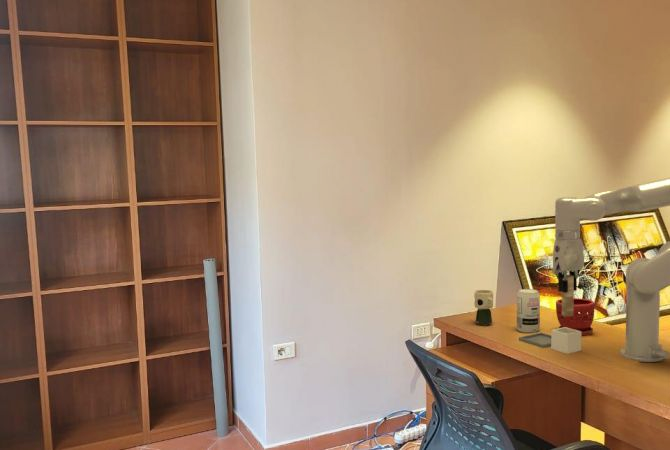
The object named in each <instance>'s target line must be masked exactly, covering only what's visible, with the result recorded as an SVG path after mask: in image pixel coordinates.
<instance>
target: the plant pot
mask: <svg viewBox="0 0 670 450" xmlns="http://www.w3.org/2000/svg"><path fill="white" fill-rule="evenodd" d="M555 310H556V311H555V312H556V317H557V320H558V323H559V325H560V326H559V327H558V329H559V328H563V327H567V328H571V329H574V330H578V331H581V337H582V336H589V335H590V334H592V333H593V332H594V329H593V327H591V326H592V324H593V322H594V318H595V302H594V301H593V300H591V299H587V298H577V297H575V298H574V307H573V316H563V315H562V298H561V299H557V300H556V301H555Z"/></svg>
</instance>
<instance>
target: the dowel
mask: <svg viewBox="0 0 670 450" xmlns="http://www.w3.org/2000/svg"><path fill="white" fill-rule="evenodd" d="M566 280H568V292H566V293H565V292H561V299H562V315H563V316H573V307H574V292H575V291H574V276H573V275H569V274H567V277H566Z"/></svg>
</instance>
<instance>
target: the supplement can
mask: <svg viewBox="0 0 670 450" xmlns="http://www.w3.org/2000/svg"><path fill="white" fill-rule="evenodd" d="M540 300H541V296H540V293H539V291H538V290H537V289H533V288H522V289H518V292H517V293H516V329H517V330H518V332H520V333H526V334H535V333H539V331H540V330H541V328H540V326H541V324H540V322H541V321H540V320H541V316H540V313H541V312H540V311H541V301H540ZM534 332H535V333H534Z"/></svg>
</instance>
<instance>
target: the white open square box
mask: <svg viewBox="0 0 670 450" xmlns="http://www.w3.org/2000/svg"><path fill="white" fill-rule="evenodd" d="M550 330H551V331H550V332H551V334H550V335H551V346H550V349H551V350H553V351H556V352H560V353H563V354H567V355H569V354H572V353H577V352H581V351H582V336H581V331H578V330H574V329H571V328H567V327H563V328H559V327H558V328H555V329H550Z"/></svg>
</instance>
